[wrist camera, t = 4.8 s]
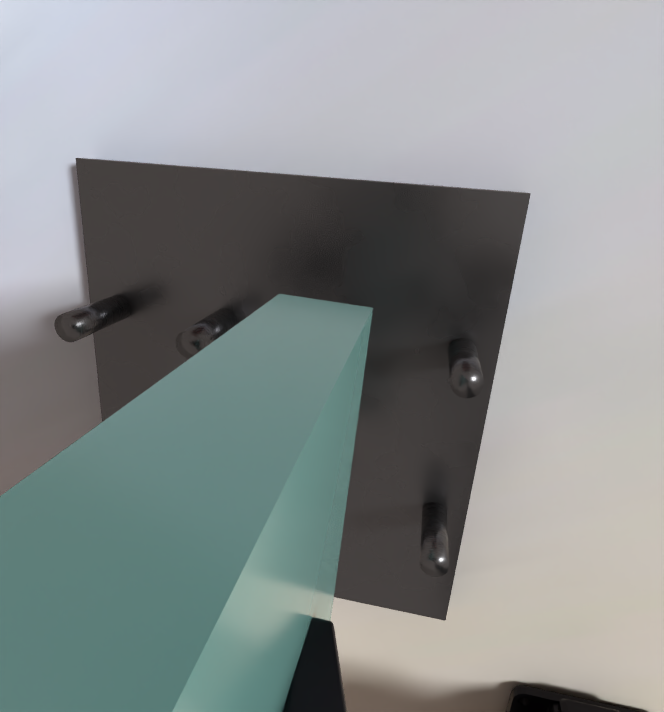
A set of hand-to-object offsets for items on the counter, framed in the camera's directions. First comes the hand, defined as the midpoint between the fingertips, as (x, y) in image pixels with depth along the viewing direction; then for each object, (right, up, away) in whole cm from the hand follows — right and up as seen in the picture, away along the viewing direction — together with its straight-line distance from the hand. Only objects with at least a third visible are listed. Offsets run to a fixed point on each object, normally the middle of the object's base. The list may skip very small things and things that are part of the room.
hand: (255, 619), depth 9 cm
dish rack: (-1, +3, +12) cm, 13 cm away
